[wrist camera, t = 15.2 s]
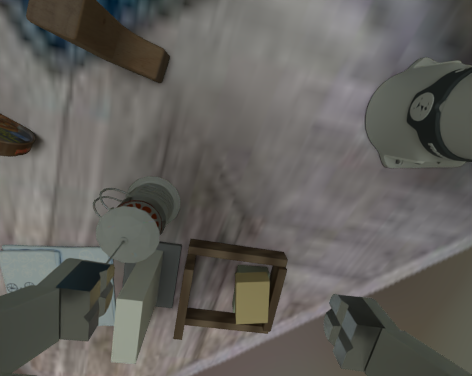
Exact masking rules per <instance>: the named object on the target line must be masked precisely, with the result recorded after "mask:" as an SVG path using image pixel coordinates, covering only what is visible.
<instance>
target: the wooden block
mask: <svg viewBox="0 0 472 376" xmlns="http://www.w3.org/2000/svg"><path fill="white" fill-rule="evenodd" d="M26 17H27V19H28V20H29V21H30V22H31V23H33V24H35V25H37V26H39V27H41V28H43V29H45V30H47V31H49V32H51V33H53V34H55V35H57V36H59V37H61V38H63V39H65V40H67V41H69V42H71V43H73V44H75V45H77V46H79V47H81V48H83V49H85V50H87V51H89V52H90V53H92V54H94V55H96V56H98V57H100V58H102V59H104V60H106V61H108V62H111V63H113V64H116V65H118V66H120V67H123V68H125V69H127V70H130V71H132V72H134V73H137V74H139V75H142V76H144V77H146V78H149V79H151V80H153V81H156V82H158V83H161V82H162V80H163V77H164V74H165V71H166V68H167V65H168V61H169V55H168V54H167V52H166V51H165V50H164V49H163V48H161V47H159V46H157V45H155V44H153V43H151V42H149V41H147V40H144V39H143V38H141V37H139V36H138V35H136V34H134V33H132V32H131V31H129V30H128V29H127V28H125V27H124V26H123V25H121V24H120V23H119V22H118V21H117V20H116V19H115V18H114V17H113V16H112V15H111V14H110V13H109V12H108V11H107V10H106V9H105V8H104V7H103V6H101V5H100V4H99V3H98V2H97V1H96V0H29V3H28V9H27V14H26Z"/></svg>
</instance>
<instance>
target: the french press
mask: <svg viewBox="0 0 472 376" xmlns="http://www.w3.org/2000/svg"><path fill="white" fill-rule="evenodd" d="M106 190H116V191H120V192H122V193H125V194H126V199H125V200H123V201H121V200H118V199H116V198H113V197H109V196H103V197H101V195H102V192H104V191H106ZM99 195H100V197H99V198H97V199H96V200H94V202H93V209H94V211H95V213H96V214H97V216H98V217H99V218H100V221H99V223H98V225H97V227H96V239H97V241H98V243H99V245H100V247H101V249H102V250H103V251H104V252H105V253H106V254H107V255H108V256H109V257H110V258H109V259H108V261H107V262H106V263H109V261H110V260H111V259H115V260H117V261H120V262H123V263H136V262H139V261H142V260H145V259H147V258H148V257H149V256H150V255H152V254H153V253H154V252H155V250H156V248H157V246H158V244H159V236H160V235H161V234H162V232H163V230H164V228H165V226H166V225H167V224H169V223H170V222H171V221H172V220H174V219H175V218H176V216H177V214H178V212H179V210H180V197H179V195H178V192H177V190H176V189H175V188H174V187H173V185H172V184H171V183H170V182H168V181H166V180H164V179H162V178H160V177H151V176H147V177H144V178H141V179H138V180H137V181H136V182H134V183H133V184H132V185H131V186H130V187H129V190H128V192H127V193H126V192H124V191H121V190H119V189H116V188H106V189H104V190H102V191H101V192H100V194H99ZM102 198H111V199H115V200H117V201H120V202H122V203H121V204H120V205H119V206H118V207H117V208H115V209H114V207H112V208H111V209H110V208H108V207H107V206H106V205H105V204H104V202H103V200H102ZM99 199H100V200H101V203H102V204H103V205H104V207H105V208H106V209H108V210H109V211H108V212H107V213H106V214H105V215H104V216H102V217H101V216H100V215H99V214H98V213H97V211H96V208H95V203H96V201H97V200H99Z"/></svg>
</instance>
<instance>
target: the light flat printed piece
mask: <svg viewBox="0 0 472 376" xmlns="http://www.w3.org/2000/svg"><path fill="white" fill-rule="evenodd" d="M2 249H3V251H0V267H1V271H2V275H3V278H4V282H5V286H6V290H7V294H8V293H10V292H13V291H16V290H19V289H22V288H24V287H27V286H30V285H35V286H36V285H38V284H39V283H40V282H41V281H42V280H43V279H44V278H45V277H46V276H48V275H49V274H50V273H51V272H52V271H53V270H54V269H55V268H57V267H58V266H59V265H60V264H61V263H62V262H63V261H64V260H66V259H68V258H74V259H82V260H89V261H95V262H101V263H106V262H107V261H108V259H109V258H110V257H109V256H108V255H107V254H106V253H105V252H104V251H103V250H102V249H101V247H63V246H28V245H3V246H2ZM108 264H113V259H111V260H110V261H109V263H108ZM110 282H111V283H112V285H113V286H114V281H113V278H112V279H111V281H110ZM115 311H116V304H115V293H114V287H113V295H112V299H111V302H110V305H109V307H108V309H107V311H106V313H105V314H104V315H103V316H101V317H99V322H98V326H103V325H105V326H114V322H115Z"/></svg>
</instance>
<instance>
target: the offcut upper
mask: <svg viewBox="0 0 472 376" xmlns="http://www.w3.org/2000/svg"><path fill="white" fill-rule="evenodd" d="M269 287H270V281H269V277H268V274H267V272H247V273H235V319H236V324H254V323H268V307H269Z"/></svg>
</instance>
